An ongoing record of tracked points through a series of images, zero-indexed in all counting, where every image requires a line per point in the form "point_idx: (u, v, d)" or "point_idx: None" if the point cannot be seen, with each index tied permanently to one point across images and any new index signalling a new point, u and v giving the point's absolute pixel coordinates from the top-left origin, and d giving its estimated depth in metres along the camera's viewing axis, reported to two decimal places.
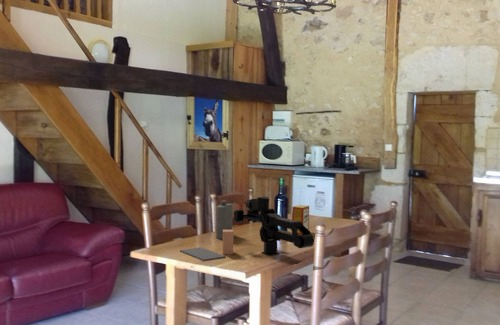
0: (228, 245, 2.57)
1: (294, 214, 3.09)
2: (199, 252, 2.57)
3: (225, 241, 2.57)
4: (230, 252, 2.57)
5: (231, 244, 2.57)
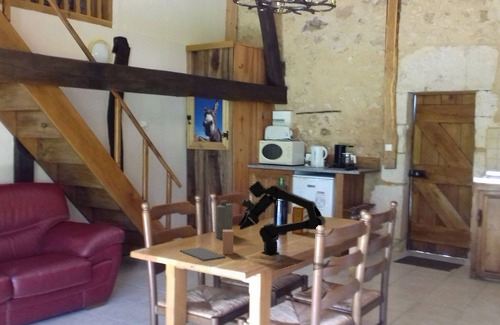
0: (228, 245, 2.57)
1: (294, 214, 3.09)
2: (199, 252, 2.57)
3: (225, 241, 2.57)
4: (230, 252, 2.57)
5: (231, 244, 2.57)
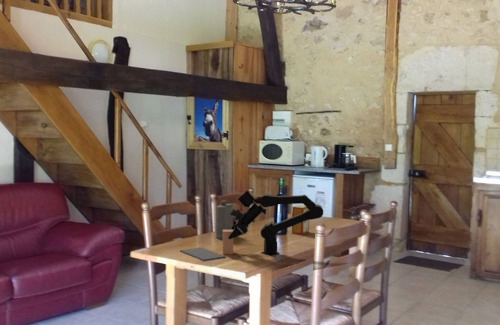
0: (228, 245, 2.57)
1: (294, 214, 3.09)
2: (199, 252, 2.57)
3: (225, 241, 2.57)
4: (230, 252, 2.57)
5: (231, 244, 2.57)
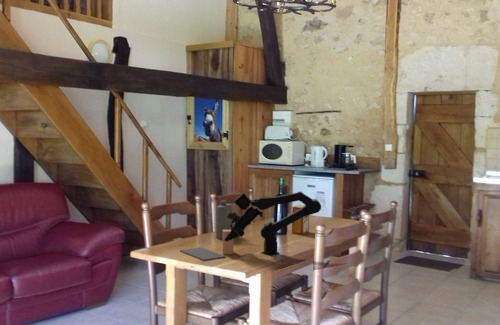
0: (228, 245, 2.57)
1: None
2: (199, 252, 2.57)
3: (225, 241, 2.57)
4: (230, 252, 2.57)
5: (231, 244, 2.57)
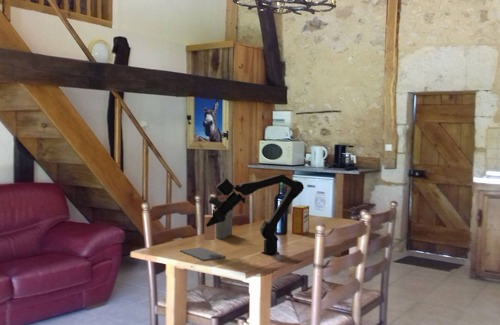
0: (209, 230, 2.54)
1: (294, 214, 3.09)
2: (199, 252, 2.57)
3: None
4: (211, 238, 2.54)
5: (213, 230, 2.54)
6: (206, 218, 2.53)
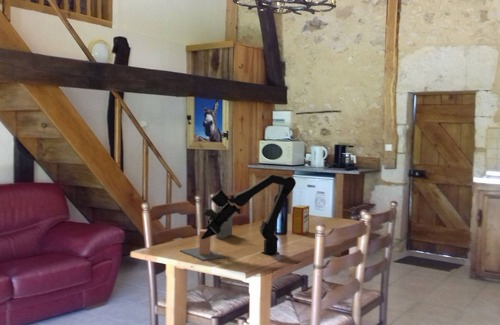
0: (204, 245, 2.53)
1: (294, 214, 3.09)
2: None
3: (202, 241, 2.53)
4: (207, 252, 2.54)
5: (208, 244, 2.53)
6: (201, 233, 2.53)
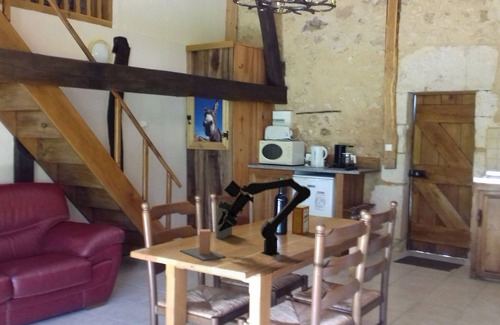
0: (204, 245, 2.53)
1: (294, 214, 3.09)
2: None
3: (202, 241, 2.53)
4: (207, 252, 2.54)
5: (208, 244, 2.53)
6: (201, 233, 2.53)
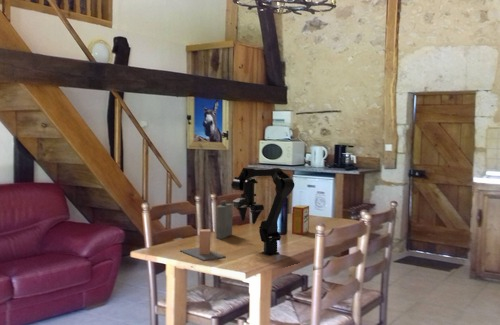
0: (204, 245, 2.53)
1: (294, 214, 3.09)
2: None
3: (202, 241, 2.53)
4: (207, 252, 2.54)
5: (208, 244, 2.53)
6: (201, 233, 2.53)
